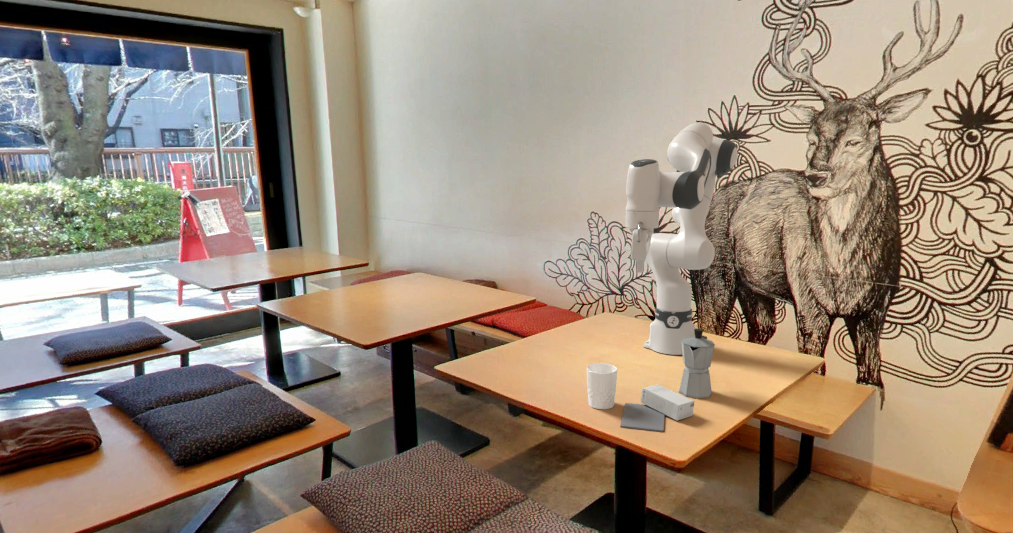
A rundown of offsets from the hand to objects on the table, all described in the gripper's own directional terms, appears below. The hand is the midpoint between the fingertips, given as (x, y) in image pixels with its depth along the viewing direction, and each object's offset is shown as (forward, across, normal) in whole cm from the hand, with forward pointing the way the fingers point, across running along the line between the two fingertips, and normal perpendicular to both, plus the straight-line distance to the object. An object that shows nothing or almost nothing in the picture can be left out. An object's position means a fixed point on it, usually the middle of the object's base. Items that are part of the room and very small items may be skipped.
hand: (640, 271), depth 160 cm
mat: (+33, -20, -3) cm, 39 cm away
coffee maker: (+33, +1, -16) cm, 37 cm away
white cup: (+33, -15, +8) cm, 37 cm away
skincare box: (+30, -10, -4) cm, 32 cm away
